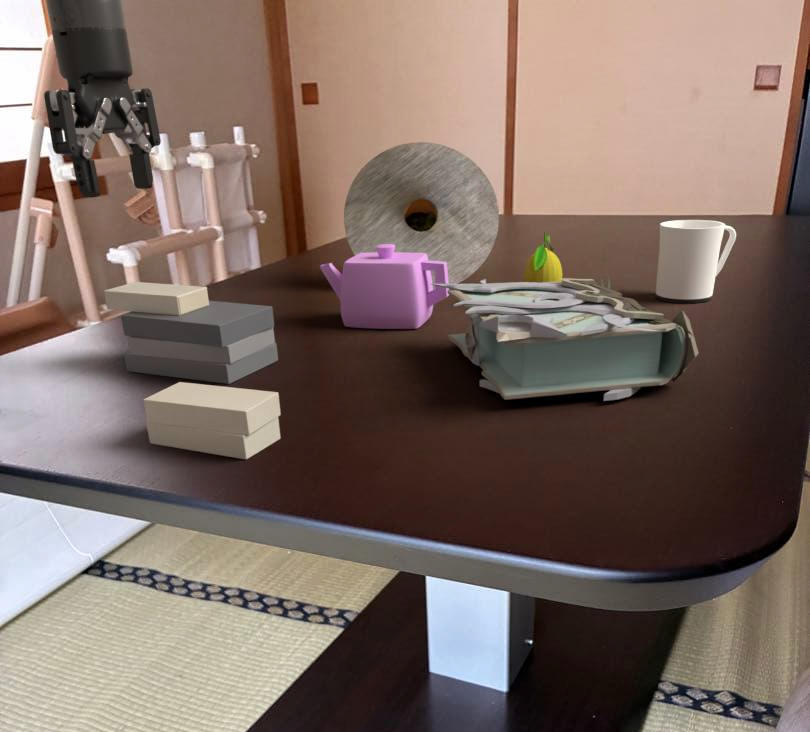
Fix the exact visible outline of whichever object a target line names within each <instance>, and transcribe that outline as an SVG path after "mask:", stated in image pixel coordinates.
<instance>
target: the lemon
mask: <svg viewBox="0 0 810 732" xmlns="http://www.w3.org/2000/svg"><path fill="white" fill-rule="evenodd" d="M547 243H548V246H549V248H547V247H546V246H547V245H546V244H547ZM553 251H554V247H553V245H552V244H551V236H550V235H549V234H548V235H547V231H544V233H543V243H542V245H539V246H537V247H536V249H535V252H534V253H532V255H531V256H530V257H529V258H528V260H527V263H526V265H525V268H524V274H523V280H524V281H523V282H537V283H541V282H555V281H562V278H563V267H562V264H561V261H560V259H559V258H558V257H559V256H557V255H556V254H555V253H554V252H553Z"/></svg>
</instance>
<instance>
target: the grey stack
mask: <svg viewBox="0 0 810 732" xmlns="http://www.w3.org/2000/svg"><path fill="white" fill-rule="evenodd" d="M274 318H275V317H274V308H273V306H272V305H261V304H251V303H250V304H249V303H240V302H230V301H229V302H228V301H218V300H217V301H216V300H209V306H206V307H204V308H201V309H198V310H195V311H192V312H189V313H186V314H183V315H180V316H177V315H166V314H154V313H143V312H132V311H128V312H127V313H123V314H120V319H121V324H122V325H121V326H122V329H123V336H125V337H126V336H128V337H126V340H127V346H128V350H129V351H126V352H124V353H123V357H124V362H125V369H126V372H128V373H129V372H131V373H138V374H147V375H155V376H161V377H170V378H177V379H184V380H193V381H202V382H209V383H217V384H225V385H230V384H232V383H235V382H236V381H239V380H241V379H242V378H244V377H247V376H249V375H252V374H254V373H255V372H257V371H259V370H262V369H263V368H265V367H267V366H269V365H272V364H274V363H276V362H278V361H279V355H278V353H279V352H278V346H277V345H278V344H277V342H276V339H275V331H274V327H275V319H274Z"/></svg>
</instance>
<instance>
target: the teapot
mask: <svg viewBox="0 0 810 732" xmlns="http://www.w3.org/2000/svg"><path fill="white" fill-rule="evenodd" d="M376 250H377V252H368V253H360V254H358V255H356V256H355V255H354V256H351V257H350V258H348V259H347V260H346V261H344V262H343V266H342V272H340V271H339V270H338V269H337V268H336V267H335V266H334V264H333V263H332V262H329V263H328V262H327V263H324V264H321V265H319V269H320V271H321V272H322V274H323V275H324V277H325V279H326V280H327V281H328V283H329V285H330V286H331V288H332V290H333V291H334V293H335V295H336V296H337V298H338V300H339V302H340V317H341V319H342V322H343V325H344V327H346V328H354V329H355V328H356V329H372V330H373V329H374V330H376V329H377V330H414V329H419V328H420V327H422V326H423V325H424V324H425V323H426V322H427V321H428V320H429V319H430V318H431V316H432V313H433V309H434V305H435V304H437V303H439V302H441V301H443V300H444V299H447V298H448V297H449V296H450V295H449V294H448V290H450V289H449V288H444V287H438V286H435V289H434V290H433V285H431V284H432V277H431V271H430V270H435V284H449V281H448V270H447V262H443V261H429V260H428V257H427V254H426V253H407V252H394V250H395V245H393V244H381V245H377V246H376Z"/></svg>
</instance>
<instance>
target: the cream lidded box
mask: <svg viewBox="0 0 810 732" xmlns="http://www.w3.org/2000/svg"><path fill="white" fill-rule="evenodd" d="M142 401H143V405H144V412H145V416H146V421H145V424H146V429H147V435H148V440H149V444H152V445H157V446H164V447H170V448H174V449H175V448H176V449H181V450H188V451H193V452H198V453H199V452H200V453H205V454H212V455H217V456H223V457H229V458H230V457H231V458H235V459H240V460H248V459H250V458H251V457H253V456H255V455H256V454H258V453H260V452H261V451H263V450H264V449H266V448H268V447H270V446H271V445H273V444H274V443H276V442H277V441H279V440H281V438H282V437H281V428H280V419H279V417H280V416H281V415H282V414H281V413H282V412H281V404H280V403H281V402H280V395H279V392H277V391H268V390H259V389H249V388H241V387H230V386H223V385H221V386H220V385H211V384H203V383H202V384H201V383H193V382H185V381H183V382H182V381H178V382H176V383H175V384H173V385H170V386H169V387H167V388H164V389H162V390H160V391H158V392H155V393H154V394H151V395H150V396H148V397H145V398H143V400H142Z"/></svg>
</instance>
